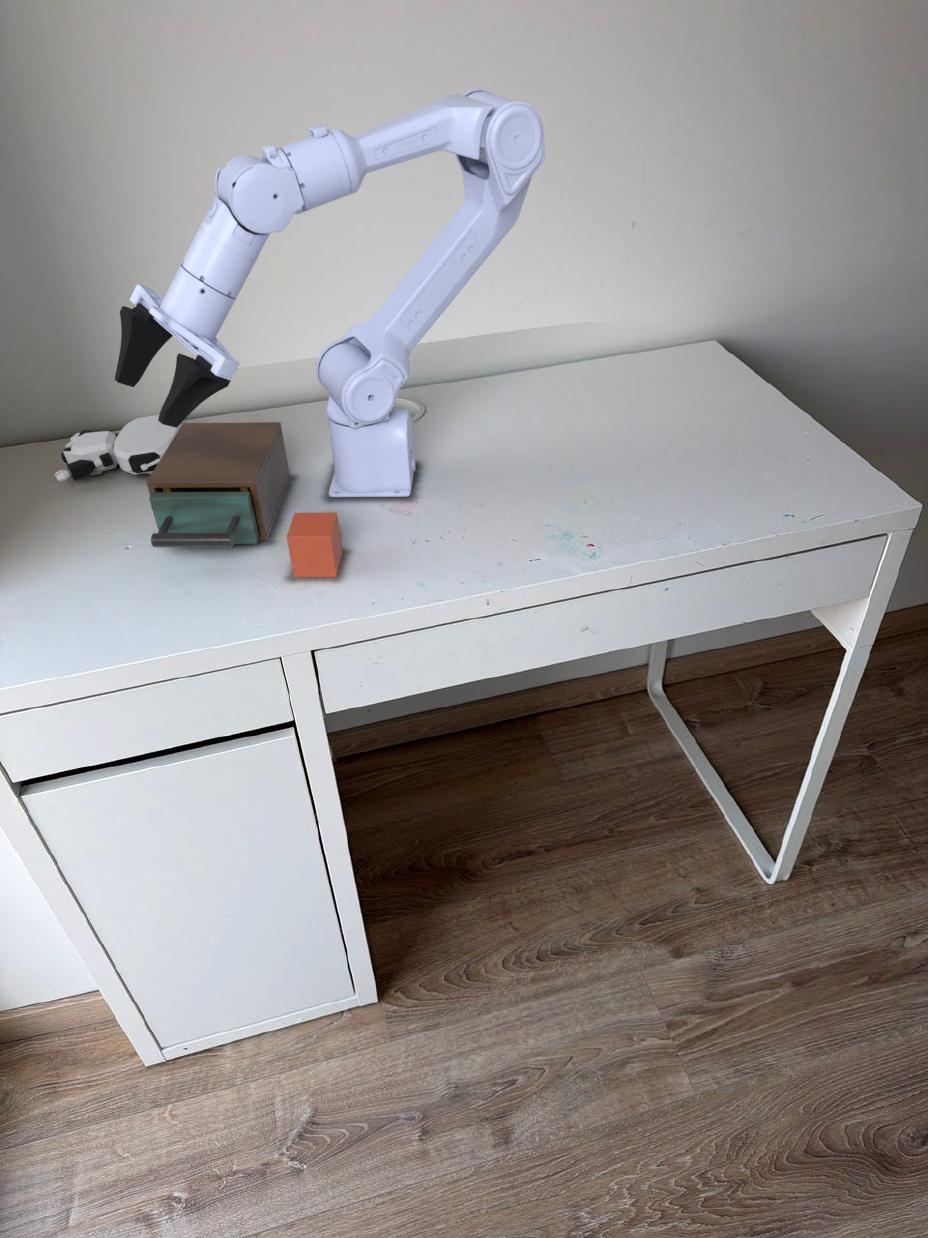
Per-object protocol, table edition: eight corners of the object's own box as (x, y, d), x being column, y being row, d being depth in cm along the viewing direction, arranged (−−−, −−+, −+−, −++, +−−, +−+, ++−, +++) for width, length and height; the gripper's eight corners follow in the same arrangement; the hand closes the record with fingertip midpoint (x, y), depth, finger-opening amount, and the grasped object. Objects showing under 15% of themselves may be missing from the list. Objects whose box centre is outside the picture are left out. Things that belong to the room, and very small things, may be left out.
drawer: (247, 570, 90) (236, 522, 86) (148, 570, 90) (134, 523, 87) (279, 483, 103) (271, 439, 99) (193, 484, 103) (182, 440, 100)
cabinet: (267, 541, 95) (255, 481, 91) (163, 541, 96) (146, 482, 91) (290, 478, 106) (280, 421, 101) (196, 479, 106) (182, 422, 101)
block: (342, 552, 93) (337, 512, 90) (336, 577, 90) (330, 536, 87) (301, 552, 93) (294, 512, 90) (294, 577, 90) (286, 536, 87)
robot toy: (60, 503, 104) (187, 482, 105) (44, 469, 101) (175, 448, 102) (80, 453, 114) (196, 435, 114) (66, 421, 111) (185, 402, 111)
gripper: (132, 230, 83) (72, 355, 87) (225, 306, 78) (156, 435, 82) (187, 257, 90) (129, 373, 93) (276, 328, 84) (210, 448, 88)
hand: (145, 403), depth 88 cm, fingers open, 7 cm apart
